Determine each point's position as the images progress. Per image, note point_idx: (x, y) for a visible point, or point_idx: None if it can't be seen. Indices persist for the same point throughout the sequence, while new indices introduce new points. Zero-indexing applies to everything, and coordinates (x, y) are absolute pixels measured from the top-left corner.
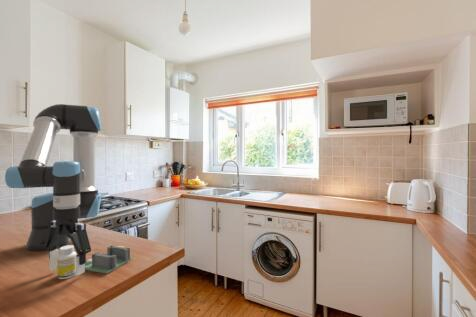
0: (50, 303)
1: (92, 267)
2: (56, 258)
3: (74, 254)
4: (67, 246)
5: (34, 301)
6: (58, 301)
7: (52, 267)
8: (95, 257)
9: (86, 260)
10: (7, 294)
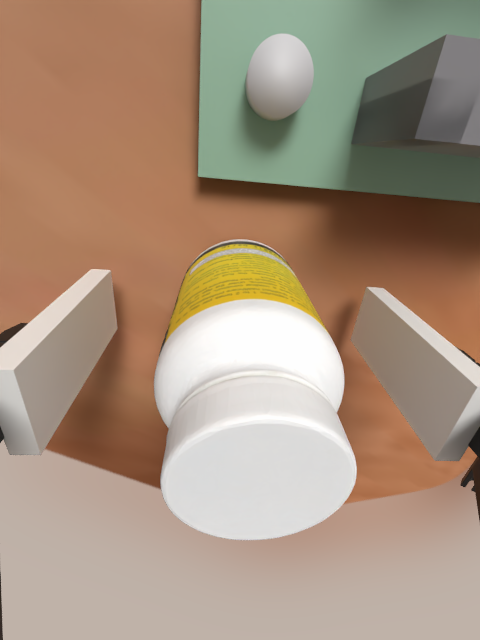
0: (364, 469)
1: (373, 171)
2: (78, 336)
3: (341, 382)
4: (237, 468)
5: None
6: (386, 457)
7: (110, 333)
8: (451, 145)
9: (262, 97)
10: (127, 471)
